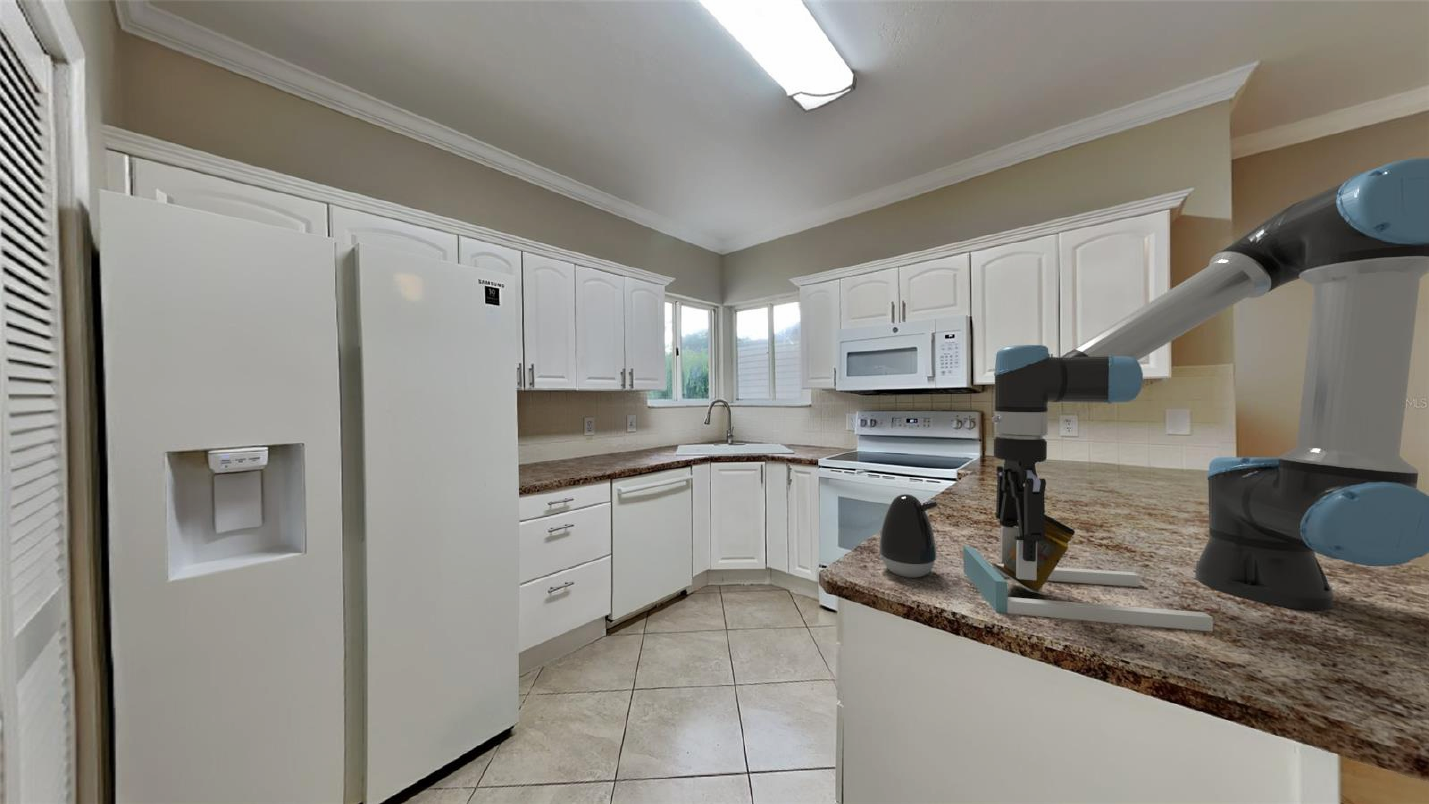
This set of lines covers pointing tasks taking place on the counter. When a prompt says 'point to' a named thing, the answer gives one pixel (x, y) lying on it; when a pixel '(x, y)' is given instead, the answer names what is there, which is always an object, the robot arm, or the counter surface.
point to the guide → (996, 595)
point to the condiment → (1042, 555)
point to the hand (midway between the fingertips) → (1017, 570)
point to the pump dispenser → (908, 537)
